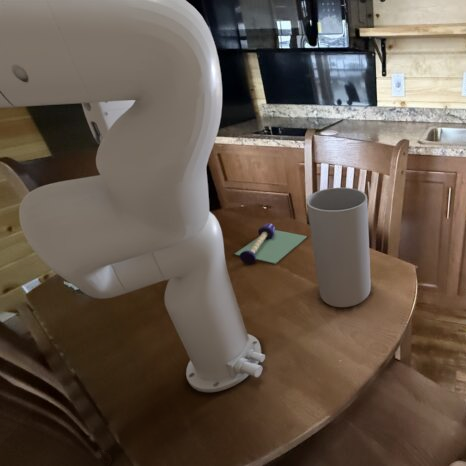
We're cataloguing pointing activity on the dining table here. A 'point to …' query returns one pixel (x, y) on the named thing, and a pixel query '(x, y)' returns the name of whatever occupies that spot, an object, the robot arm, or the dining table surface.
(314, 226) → the cylinder vase
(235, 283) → the dining table surface
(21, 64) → the robot arm
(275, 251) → the mat
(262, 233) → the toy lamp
